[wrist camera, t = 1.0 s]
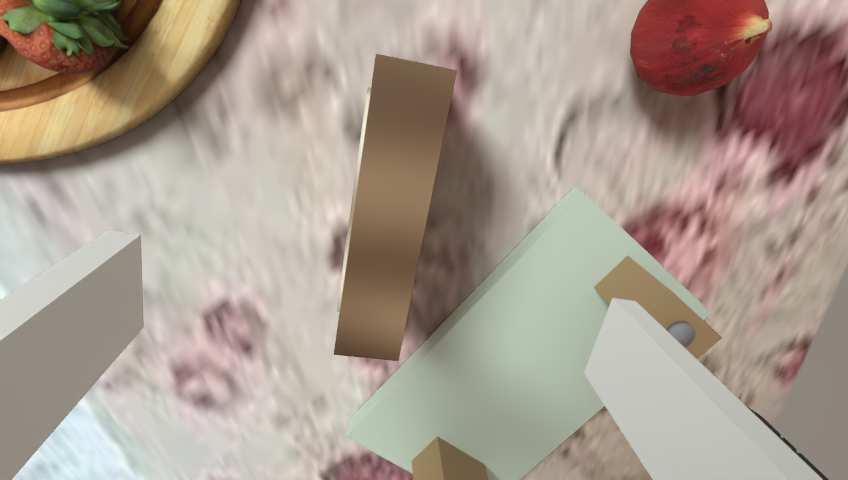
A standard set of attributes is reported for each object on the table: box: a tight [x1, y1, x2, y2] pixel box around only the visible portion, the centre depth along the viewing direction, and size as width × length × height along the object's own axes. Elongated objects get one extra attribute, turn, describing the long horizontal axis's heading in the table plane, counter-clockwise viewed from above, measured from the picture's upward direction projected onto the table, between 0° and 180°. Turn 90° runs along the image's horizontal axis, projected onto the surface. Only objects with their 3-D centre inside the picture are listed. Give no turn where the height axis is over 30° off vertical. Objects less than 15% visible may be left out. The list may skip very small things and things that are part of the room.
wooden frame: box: [334, 54, 457, 361], centre depth 24 cm, size 13×3×10 cm, turn 169°
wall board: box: [346, 187, 722, 480], centre depth 31 cm, size 24×14×7 cm, turn 139°
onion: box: [630, 0, 772, 96], centre depth 23 cm, size 6×6×8 cm
